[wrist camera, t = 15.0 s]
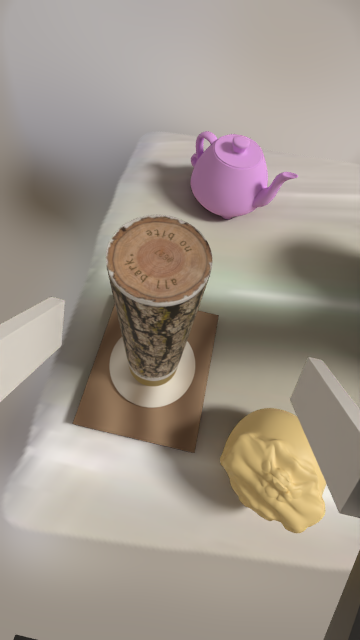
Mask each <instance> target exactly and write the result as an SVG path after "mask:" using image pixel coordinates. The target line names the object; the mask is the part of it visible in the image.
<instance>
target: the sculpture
mask: <svg viewBox="0 0 360 640" xmlns="http://www.w3.org/2000/svg"><path fill="white" fill-rule="evenodd" d="M220 462H221V465H222V466H223V467H224V468H225V470H226V472H227V474H228V476H229V478H230V484H231V487H232V488H233V490H234V491H235V493H236V494H237V495H238V497H239V500H240V502H241V503H242V504H243V505H244V506H246V507H249V508H250V509H252V510H253V511H255V512H256V513H257V514H258V515H259V516H261V517H262V518H264V519H266V520H268V521H272V520H276V521H279V522H281V523H282V524H283V526H284V527H285V529H287V530H288V531H291V532H293V533H301V532H303V531H305V530H306V528H307V527H310V526H313V525H314V524H316V523H317V522H319V521H320V520H321V519H322V518H323V516H324V515H325V503H324V500H323V498H322V494H323V491H324V489H325V486H326V481H325V479H324V477H323V474H322V472H321V470H320V467H319V465H318V463H317V461H316V458H315V456H314V454H313V451H312V449H311V447H310V444H309V442H308V440H307V438H306V435H305V433H304V431H303V428H302V426H301V424H300V421H299V419H298V417H297V416H295V415H293V414H291V413H289V412H286V411H284V410H280V409H274V408H265V409H260V410H257V411H254V412H252V413H250V414H248V415H247V416H245V417H244V418H243V419H242V420H241V421H240V422H239V423H238V424H237V425H236V426H235V428H234V429H233V431H232V432H231V434H230V435H229V437H228V439H227V441H226V444H225V447H224V450H223V453H222V455H221V457H220Z"/></svg>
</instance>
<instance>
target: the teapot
mask: <svg viewBox="0 0 360 640" xmlns="http://www.w3.org/2000/svg"><path fill="white" fill-rule="evenodd" d="M204 138H205V139H207V140H208V141H209V142H210V144H211V145H210V146H209V147H208V148H207V149H206V150H205V151H204V152H203V141H204ZM191 163H192V165H193V166H194V169H193V172H192V176H191V188H192V192H193V194H194V196H195V197H196V199H197V200H198V201H199V203H200V204H201V205H202V206H204V207H205V208H206V209H207V210H209V211H210V212H212V213H214V214H217V215H220V216H222V218H224V219H227V220H229V219H231V218H232V217H236V216H241V215H245V214H247V213H250V212H252V211H253V210H255V209H256V208H257V207H262V206H265V205H267V204H268V203H270V202H271V201H272V200H273V198H274V197H275V196H276V194H277V192H278V190H279V188H280V186H281V185H282V184H283V183H284V182H285V181H287V180H289V179H293V178H297V177H298V175H297V174H294V173H291V172H283V173H280V174H279V175H277V176H276V178H275V179H274V180H273V182H272V184H271V185H270V187H267V183H268V173H267V166H266V162H265V158H264V155H263V152H262V150H261V148H260V146H259V145H258V144H257V143H256V142H255V141H253V140H252V139H250V138H248V137H245V136H242V135H236V134H231V135H225V136H222V137H220V138H219V139H217V137H216V136H215V135H214V134H213V133H211V132H209V131H206V132H202V133H201V134H199V136H198V137H197V140H196V154H194V155H193V156H192V157H191Z"/></svg>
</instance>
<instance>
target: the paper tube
mask: <svg viewBox="0 0 360 640" xmlns="http://www.w3.org/2000/svg"><path fill="white" fill-rule="evenodd" d="M106 263H107V270H108V275H109V279H110V284H111V288H112V293H113V297H114V302H115V306H116V311H117V315H118V320H119V324H120V329H121V333H122V338H123V342H124V347H125V351H126V356H127V361H128V364H129V369H130V372H131V374H132V375H133V377H134V378H135V379H136V380H137V381H138V382H140V383H141V384H143V385H146V386H160V385H163V384H165V383H167V382H168V381H169V380H170V379H171V378H172V377H173V376H174V375H175V373H176V370H177V368H178V365H179V362H180V359H181V357H182V354H183V351H184V348H185V345H186V342H187V339H188V337H189V334H190V331H191V328H192V325H193V322H194V319H195V316H196V314H197V311H198V308H199V305H200V302H201V299H202V296H203V293H204V291H205V288H206V285H207V282H208V279H209V276H210V272H211V268H212V253H211V249H210V247H209V244H208V242H207V241H206V239H205V238H204V236H203V235H202V234H201V233H200V232H199V231H198V230H197V229H196V228H195V227H193V226H192V225H191V224H189V223H187V222H185V221H183V220H181V219H178V218H175V217H171V216H166V215H148V216H143V217H139V218H136V219H133V220H131V221H129V222H127V223H126V224H124V225H123V226H121V227H120V228H119V229H118V230H117V231H116V232H115V233H114V235H113V236H112V238H111V239H110V241H109V244H108V247H107V251H106Z"/></svg>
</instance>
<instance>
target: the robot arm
mask: <svg viewBox="0 0 360 640" xmlns="http://www.w3.org/2000/svg"><path fill="white" fill-rule="evenodd" d="M64 306H65V300H63V299H58V298H54V297H49V298H48V299H46V300H44V301H42V302H40V303H38V304H37V305H35V306H33V307H31V308H29V309H27V310H26V311H24V312H22V313H20V314H18V315H16V316H14V317H13V318H11V319H9V320H7V321H5V322H3V323H1V324H0V402H1V401H2V400H3V399H4V398H5V397H6V396H7V395H8V394H9V393H11V392H12V391H13V390H14V389H15V388H16V387H17V386H18V385H19V384H20V383H21V382H23V381H24V380H25V379H26V378H27V377H28V376H29V375H30V374H31V373H32V372H33V371H35V370H36V369H37V368H38V367H39V366H40V365H41V364H42V363H43V362H44V361H46V360H47V359H48V358H49V357H50V356H51V355H52V354H53V353H54V352H55V351H56V350H58V349H59V348H60V347H61V346H62V332H63V319H64ZM290 401H291V403H292V405H293V408H294V410H295V412H296V415H297V417H298V419H299V421H300V424H301V426H302V428H303V431H304V433H305V435H306V438H307V440H308V442H309V444H310V447H311V449H312V451H313V454H314V456H315V458H316V461H317V463H318V465H319V467H320V470H321V472H322V474H323V477H324V479H325V481H326V484H327V486H328V488H329V490H330V493H331V495H332V497H333V500H334V502H335V504H336V507H337V509H338V511H339V513H341V514H345V515H349V516H353V517H358V518H360V409H359V407H358V406H357V405H356V403H355V402H354V401H353V399H352V398H351V397H350V396H349V394H348V393H347V392H346V390H345V389H344V388H343V386H342V385H341V384H340V382H339V381H338V380H337V379H336V377H335V376H334V375H333V373H332V372H331V371H330V369H329V368H328V367H327V366H326V364H325V363H324V362H323V360H320V359H316V358H312V357H308V358H307V360H306V362H305V365H304V367H303V370H302V372H301V374H300V377H299V379H298V382H297V384H296V386H295V389H294V391H293V394H292V396H291V398H290ZM14 640H36V639H32V638H27V637H24V636H19V635H15V637H14ZM324 640H360V551H359V553H358V555H357V558H356V560H355V563H354V565H353V568H352V570H351V573H350V575H349V578H348V580H347V583H346V585H345V588H344V590H343V593H342V595H341V598H340V600H339V603H338V605H337V608H336V610H335V612H334V615H333V617H332V620H331V622H330V625H329V627H328V630H327V632H326V635H325V638H324Z"/></svg>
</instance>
